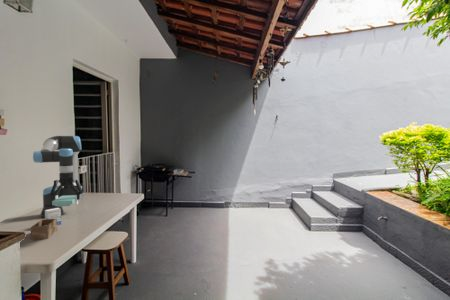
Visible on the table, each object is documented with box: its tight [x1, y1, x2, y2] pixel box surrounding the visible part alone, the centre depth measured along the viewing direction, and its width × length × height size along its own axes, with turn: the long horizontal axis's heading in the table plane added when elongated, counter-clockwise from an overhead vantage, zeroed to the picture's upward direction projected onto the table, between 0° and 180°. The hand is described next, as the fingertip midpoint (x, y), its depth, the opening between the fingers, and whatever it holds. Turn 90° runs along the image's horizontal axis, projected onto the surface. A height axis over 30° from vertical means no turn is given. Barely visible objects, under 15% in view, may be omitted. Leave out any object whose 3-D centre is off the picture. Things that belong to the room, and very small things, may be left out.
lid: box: [52, 195, 76, 208], centre depth 156 cm, size 15×11×4 cm
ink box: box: [44, 208, 62, 226], centre depth 171 cm, size 9×5×12 cm, turn 141°
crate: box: [30, 218, 58, 241], centre depth 154 cm, size 14×9×8 cm, turn 15°
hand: (66, 204), depth 156 cm, fingers closed on lid, 11 cm apart
